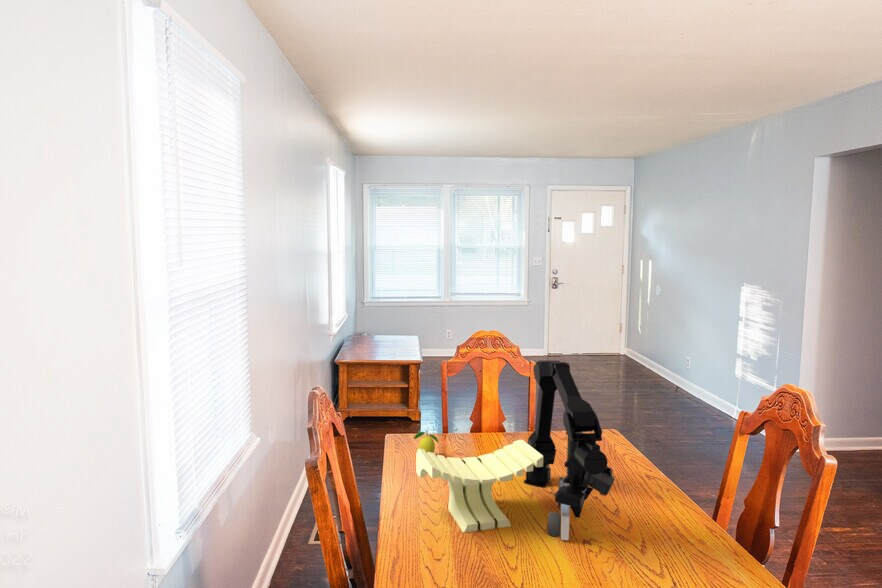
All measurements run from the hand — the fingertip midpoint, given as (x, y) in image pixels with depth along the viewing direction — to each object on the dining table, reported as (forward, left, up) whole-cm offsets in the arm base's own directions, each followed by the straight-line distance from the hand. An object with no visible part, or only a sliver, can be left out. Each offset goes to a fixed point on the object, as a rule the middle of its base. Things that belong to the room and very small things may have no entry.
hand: (577, 517), depth 143 cm
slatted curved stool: (-26, -5, -4) cm, 27 cm away
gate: (-4, +2, -4) cm, 6 cm away
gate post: (-8, +12, -4) cm, 15 cm away
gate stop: (-5, -4, -4) cm, 7 cm away
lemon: (-59, +22, -4) cm, 63 cm away
